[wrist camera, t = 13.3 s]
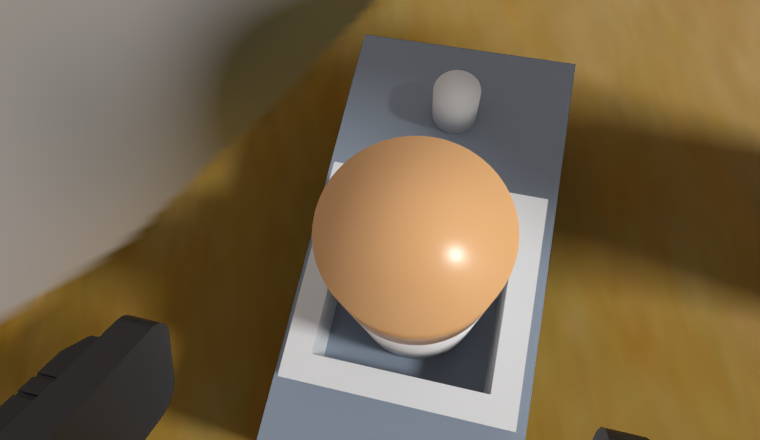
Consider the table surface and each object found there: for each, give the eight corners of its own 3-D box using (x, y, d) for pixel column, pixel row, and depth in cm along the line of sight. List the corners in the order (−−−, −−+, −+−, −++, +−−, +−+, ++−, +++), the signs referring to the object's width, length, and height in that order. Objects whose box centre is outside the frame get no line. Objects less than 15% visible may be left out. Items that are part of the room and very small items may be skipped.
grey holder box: (542, 133, 31) (591, 29, 22) (488, 504, 26) (524, 565, 17) (376, 106, 33) (359, -2, 24) (290, 453, 27) (224, 484, 18)
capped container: (485, 254, 22) (532, 153, 13) (465, 371, 21) (502, 355, 11) (373, 233, 23) (338, 121, 13) (347, 345, 22) (288, 309, 12)
